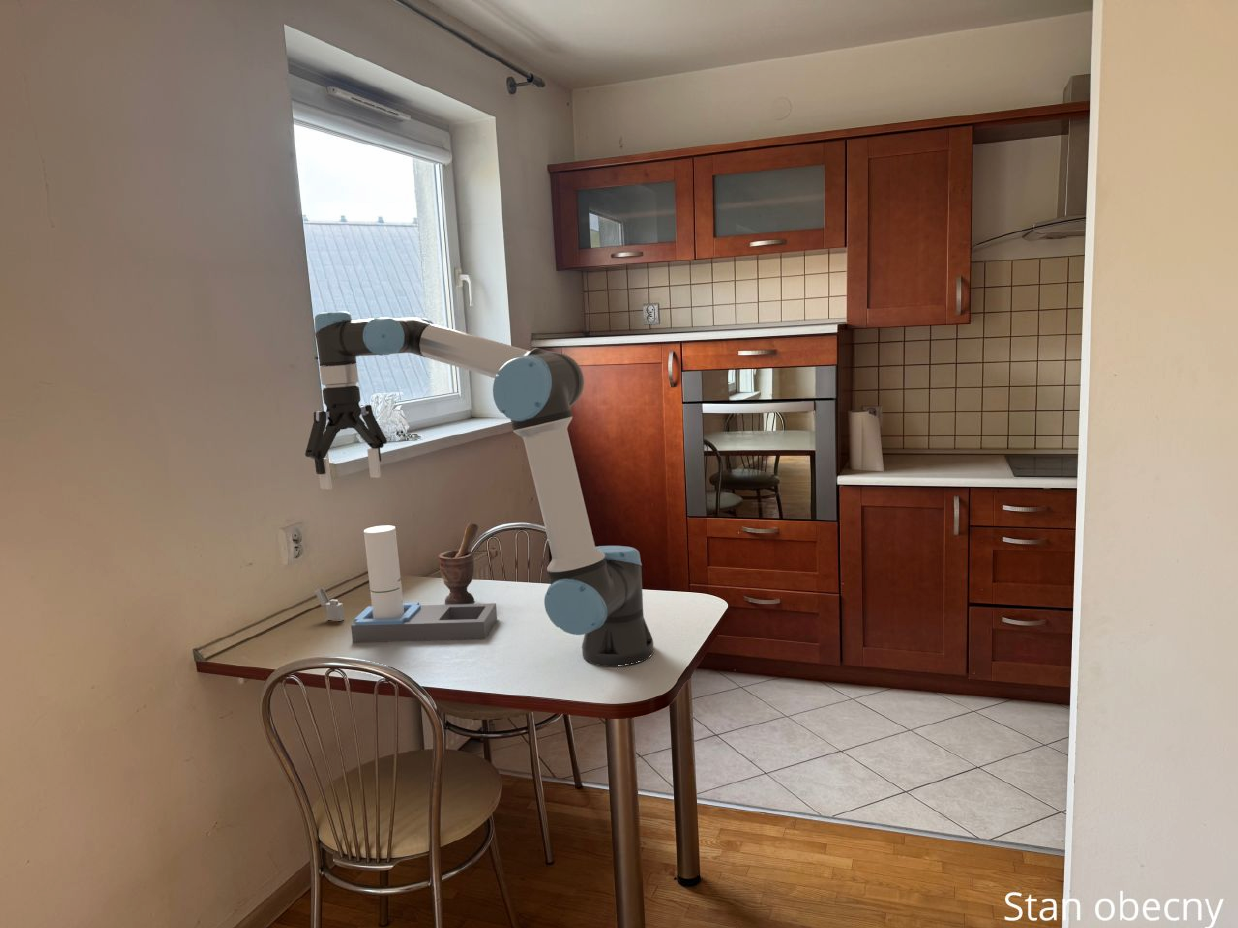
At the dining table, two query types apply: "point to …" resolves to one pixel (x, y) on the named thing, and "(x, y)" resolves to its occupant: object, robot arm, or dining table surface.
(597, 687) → the dining table surface
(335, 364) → the robot arm
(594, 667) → the dining table surface
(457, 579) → the mortar and pestle
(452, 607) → the socket rack
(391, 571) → the cylindrical container
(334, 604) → the lighter
